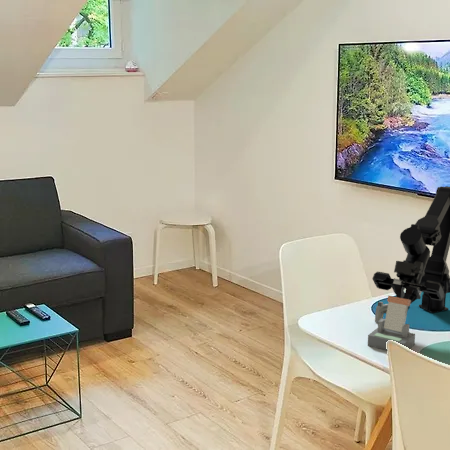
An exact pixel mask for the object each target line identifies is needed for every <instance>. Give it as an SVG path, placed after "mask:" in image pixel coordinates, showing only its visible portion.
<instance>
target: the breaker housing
mask: <svg viewBox="0 0 450 450" xmlns="http://www.w3.org/2000/svg"><path fill="white" fill-rule="evenodd" d="M384 324H385V318H383V319H380V320H379V321H378V323H377V328H375V329H374V330H373V331H371V332H370V333H369V334H368V335H367V347H372V348H375V349H376V348H377V349H380V350H384V351H387V350H386V342H387V341H388V340H393V341H396V342H398V343H400V344H402V345H404V346H406V347H408V348H410V349H411V348H412V347H413V346H415V341H416V333H413V332H410V324H407V323H405V325H404V326H403V327H402V332H399V331H395V330H390V329H386V328H384Z"/></svg>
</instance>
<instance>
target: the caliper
mask: <svg viewBox="0 0 450 450" xmlns="http://www.w3.org/2000/svg"><path fill="white" fill-rule="evenodd" d="M375 307H376V309H375V314H374V315H375V316H374V322H375V323H377V324H378V321H379V320H380V319H384V318H383V317H384V315H385V314H386V313H387V308H388V303H385V304H384V302H383V301H378V302H377V305H376V306H375Z"/></svg>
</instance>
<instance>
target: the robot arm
mask: <svg viewBox="0 0 450 450" xmlns="http://www.w3.org/2000/svg"><path fill="white" fill-rule="evenodd" d="M399 235H400V236H399V239H400V241H401V243H402V247H403V249H404V251H405V252H406V253H407V255H406V257H405V259H403V261H401V260H396V262H395V265H394V271H393V273H396V275H395V276H396V277H397V278H396V277H395V278H392V277H391V275H390V273H388V272H384V271H376V272H375V273H373V276H372V281H373V282H374V285H375V286H376V288H377V289H378V290H384V291H389V290H391V289H392V290H393V293H394V295H395V297H398V298H403V299H408V300H411V303H410V305H411V304H413V303H414V302H415V301H416V300H421V304H418V307H419V308H420V309H423V310H425V311H427V312H430V313H431V314H434V313H435V314H437V313H441V312H445V311H449V308H448V307H447V306H446V300H447V299H446V298H447V294H448V293H449V294H450V269H449V267H448V264H447V260H448V255H449V251H450V186H438V187H436V191H435V196H434V197H433V200H432V202H431V204H430V206H429V207H428V210H427V212H426V214H425V215H424V216H423V217H420V218H419V219H417V221H416V222H415V223H414V224H413V223H412V224H411V225H410V227H407V228H405V229H404V230H402V231H401V233H400V234H399ZM428 246H432V250H430V248H429V247H428ZM421 295H422V296H421Z"/></svg>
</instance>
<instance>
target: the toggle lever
mask: <svg viewBox="0 0 450 450" xmlns="http://www.w3.org/2000/svg"><path fill="white" fill-rule="evenodd" d="M387 302H388V303H387V304H388V308H387V313H385V318H384V319H385V324H384V328H386V329H390V330H395V331H399V332H402V327H403V326H404V325H405V324H406V320H407V315H408V311H409V307H410V306H411V304H412V303H411V300H408V299H403V298H398V297H396V296H392V295H388V296H387ZM410 303H411V304H410Z"/></svg>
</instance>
